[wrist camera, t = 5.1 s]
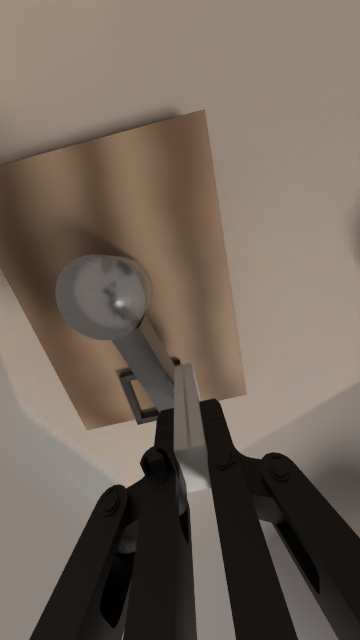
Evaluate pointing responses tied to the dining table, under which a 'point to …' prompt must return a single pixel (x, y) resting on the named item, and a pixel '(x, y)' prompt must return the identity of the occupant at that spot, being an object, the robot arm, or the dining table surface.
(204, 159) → the lever stand
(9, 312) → the dining table surface
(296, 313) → the dining table surface
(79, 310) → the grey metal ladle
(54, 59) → the dining table surface
